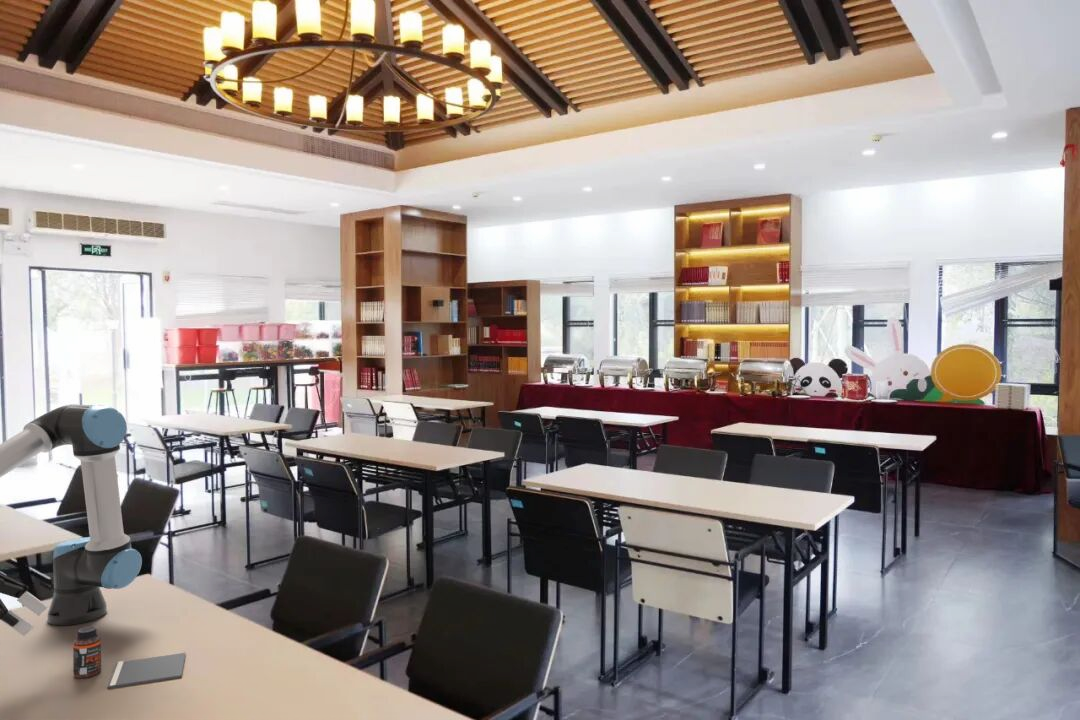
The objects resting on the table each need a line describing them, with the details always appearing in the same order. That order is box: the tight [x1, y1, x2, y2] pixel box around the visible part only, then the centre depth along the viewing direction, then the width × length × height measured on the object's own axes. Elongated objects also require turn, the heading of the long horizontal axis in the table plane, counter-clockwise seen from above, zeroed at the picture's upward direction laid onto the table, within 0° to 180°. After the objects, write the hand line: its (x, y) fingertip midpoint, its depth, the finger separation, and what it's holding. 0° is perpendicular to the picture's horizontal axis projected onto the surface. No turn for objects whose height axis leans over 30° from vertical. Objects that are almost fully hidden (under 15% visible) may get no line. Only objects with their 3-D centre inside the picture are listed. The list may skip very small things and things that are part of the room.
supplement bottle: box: [72, 625, 102, 679], centre depth 187 cm, size 6×6×11 cm
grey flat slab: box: [107, 652, 186, 690], centre depth 188 cm, size 14×16×1 cm
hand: (36, 621), depth 182 cm, fingers open, 13 cm apart
